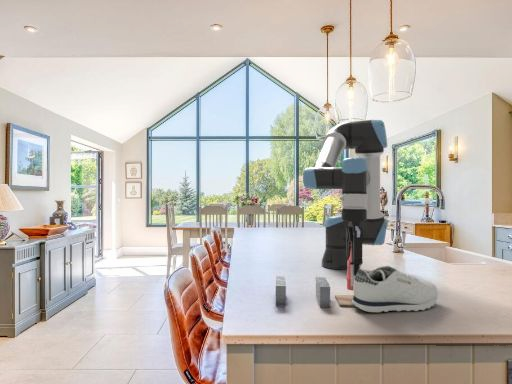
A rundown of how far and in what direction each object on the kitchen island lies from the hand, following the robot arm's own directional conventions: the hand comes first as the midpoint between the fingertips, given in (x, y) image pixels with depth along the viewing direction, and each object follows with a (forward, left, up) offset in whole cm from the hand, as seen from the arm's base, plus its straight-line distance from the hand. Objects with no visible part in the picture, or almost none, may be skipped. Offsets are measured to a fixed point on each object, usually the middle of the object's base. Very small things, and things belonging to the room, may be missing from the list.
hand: (353, 283), depth 113 cm
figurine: (0, 0, -2) cm, 2 cm away
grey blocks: (0, -16, -6) cm, 17 cm away
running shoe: (+4, +12, -6) cm, 14 cm away
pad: (0, 0, -6) cm, 6 cm away
